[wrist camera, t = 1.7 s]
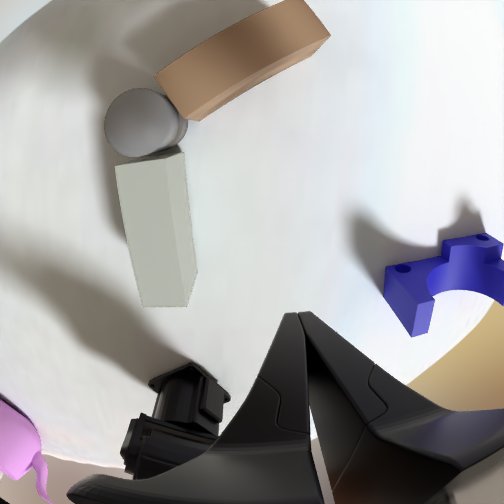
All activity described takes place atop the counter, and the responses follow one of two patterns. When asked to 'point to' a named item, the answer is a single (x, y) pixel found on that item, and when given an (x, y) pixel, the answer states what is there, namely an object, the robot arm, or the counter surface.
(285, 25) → the hinge base
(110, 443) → the counter surface
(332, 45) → the counter surface
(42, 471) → the teapot
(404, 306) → the cable clip
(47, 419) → the counter surface
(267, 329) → the counter surface
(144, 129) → the hinge leaf
